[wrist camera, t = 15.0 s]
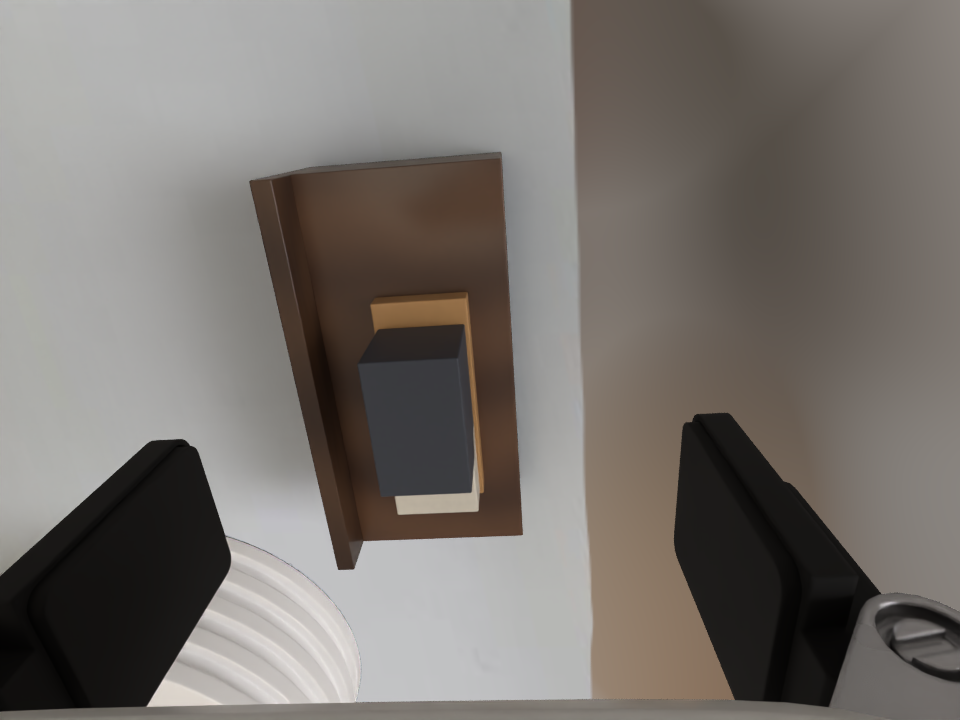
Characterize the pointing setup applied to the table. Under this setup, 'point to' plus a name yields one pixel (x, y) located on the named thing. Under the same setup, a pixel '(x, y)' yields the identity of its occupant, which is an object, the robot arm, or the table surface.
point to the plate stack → (264, 642)
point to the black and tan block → (423, 403)
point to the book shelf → (349, 326)
